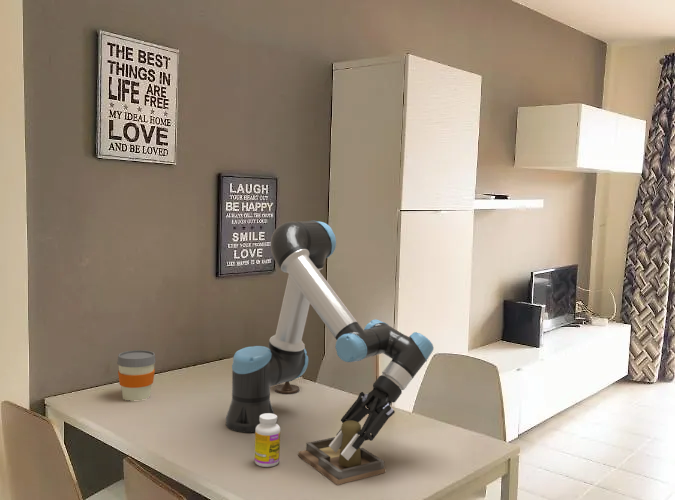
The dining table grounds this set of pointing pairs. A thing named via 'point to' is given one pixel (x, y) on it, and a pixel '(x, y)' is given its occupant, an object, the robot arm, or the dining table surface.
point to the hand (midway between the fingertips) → (338, 453)
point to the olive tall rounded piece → (348, 432)
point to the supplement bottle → (267, 441)
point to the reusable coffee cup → (136, 373)
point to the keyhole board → (329, 465)
